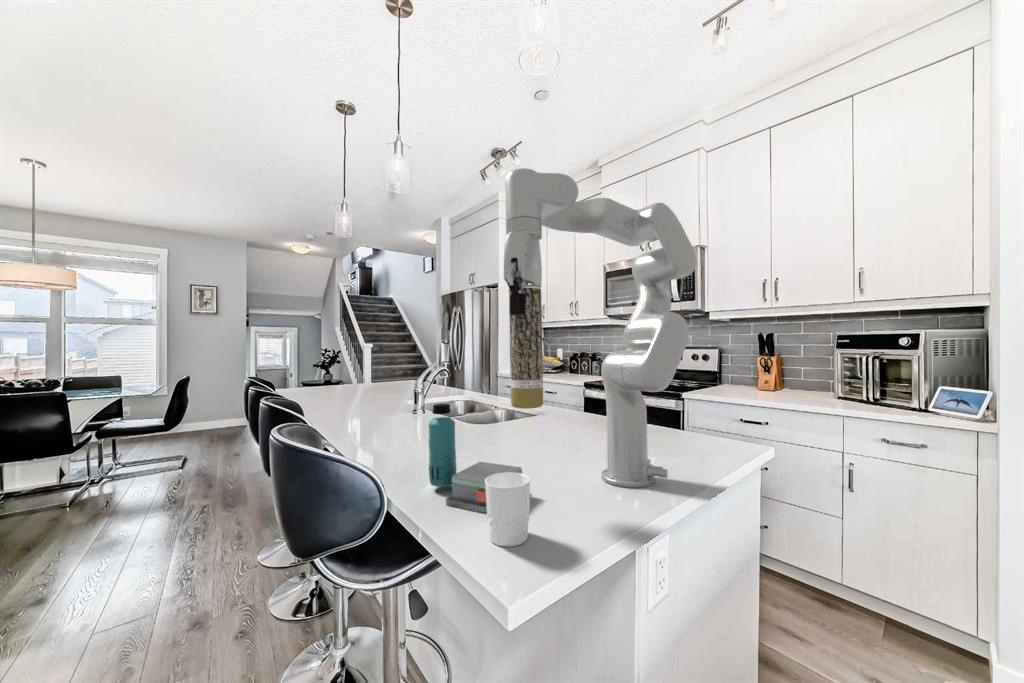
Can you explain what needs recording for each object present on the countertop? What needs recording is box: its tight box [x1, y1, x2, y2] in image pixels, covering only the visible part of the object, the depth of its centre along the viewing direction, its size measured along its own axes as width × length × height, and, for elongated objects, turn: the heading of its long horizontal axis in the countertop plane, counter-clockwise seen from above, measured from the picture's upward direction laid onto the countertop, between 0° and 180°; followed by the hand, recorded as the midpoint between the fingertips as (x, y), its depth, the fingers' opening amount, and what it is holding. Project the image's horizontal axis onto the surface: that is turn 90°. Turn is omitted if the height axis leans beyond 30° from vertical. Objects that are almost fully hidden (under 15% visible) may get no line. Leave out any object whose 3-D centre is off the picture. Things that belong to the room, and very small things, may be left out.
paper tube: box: [508, 284, 544, 410], centre depth 81 cm, size 7×7×25 cm
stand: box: [445, 461, 523, 514], centre depth 85 cm, size 13×13×6 cm
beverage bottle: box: [428, 403, 458, 488], centre depth 92 cm, size 6×7×20 cm
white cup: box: [485, 472, 531, 548], centre depth 67 cm, size 8×8×10 cm
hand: (525, 315), depth 82 cm, fingers closed on paper tube, 6 cm apart
